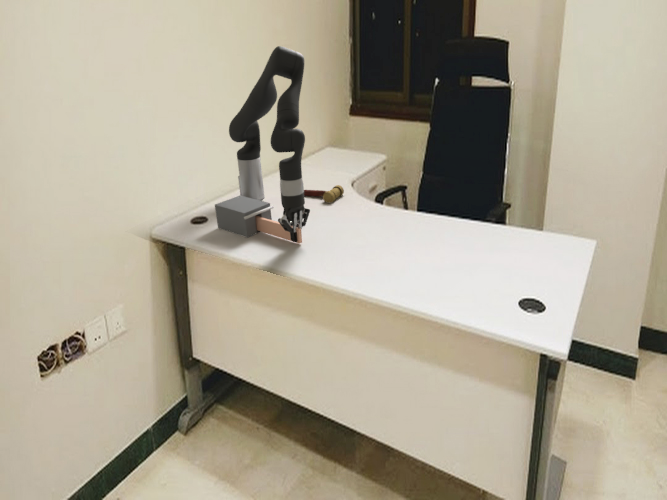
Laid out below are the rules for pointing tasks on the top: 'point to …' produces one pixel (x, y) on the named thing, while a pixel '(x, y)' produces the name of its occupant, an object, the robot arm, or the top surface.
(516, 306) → the top surface
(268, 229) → the ticket strip
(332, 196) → the gavel
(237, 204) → the dispenser
